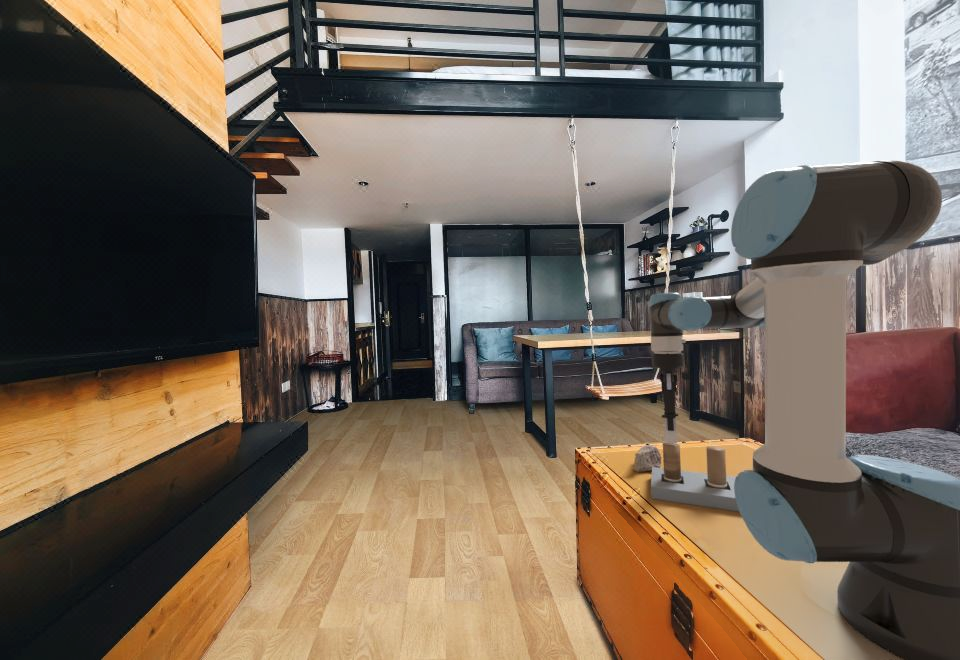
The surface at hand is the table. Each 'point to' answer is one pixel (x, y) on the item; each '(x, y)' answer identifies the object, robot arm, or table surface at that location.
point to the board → (699, 484)
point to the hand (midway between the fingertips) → (671, 441)
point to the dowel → (672, 463)
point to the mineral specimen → (647, 459)
